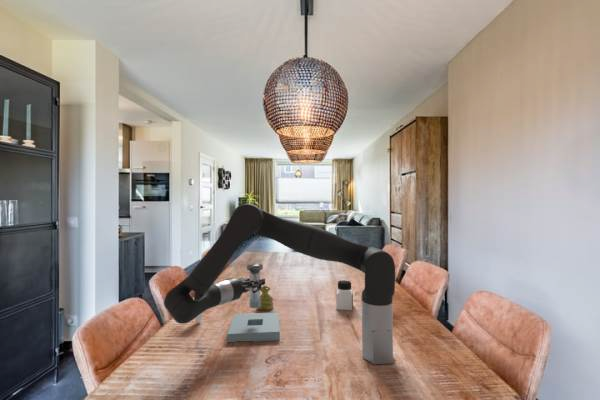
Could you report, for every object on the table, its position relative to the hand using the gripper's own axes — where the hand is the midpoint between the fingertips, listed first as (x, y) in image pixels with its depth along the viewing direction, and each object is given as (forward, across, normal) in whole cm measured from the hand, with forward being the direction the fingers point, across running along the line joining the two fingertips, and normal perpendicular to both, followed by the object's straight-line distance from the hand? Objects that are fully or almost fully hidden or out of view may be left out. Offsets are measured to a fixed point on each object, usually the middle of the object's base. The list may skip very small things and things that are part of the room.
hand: (259, 280), depth 114 cm
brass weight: (+17, +12, +18) cm, 28 cm away
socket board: (-3, 0, +18) cm, 18 cm away
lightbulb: (-10, +23, +18) cm, 32 cm away
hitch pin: (-3, 0, +9) cm, 9 cm away
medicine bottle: (+38, -17, +18) cm, 45 cm away
